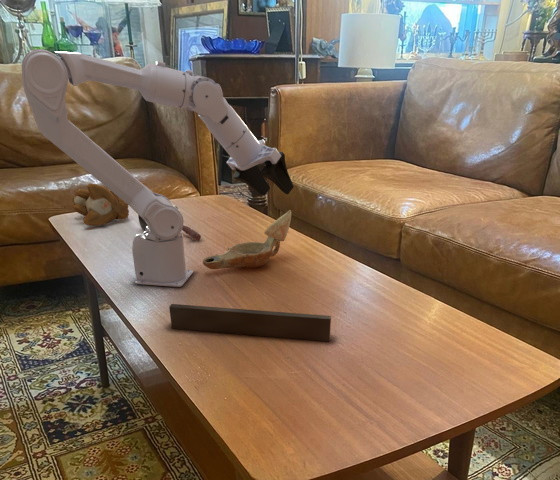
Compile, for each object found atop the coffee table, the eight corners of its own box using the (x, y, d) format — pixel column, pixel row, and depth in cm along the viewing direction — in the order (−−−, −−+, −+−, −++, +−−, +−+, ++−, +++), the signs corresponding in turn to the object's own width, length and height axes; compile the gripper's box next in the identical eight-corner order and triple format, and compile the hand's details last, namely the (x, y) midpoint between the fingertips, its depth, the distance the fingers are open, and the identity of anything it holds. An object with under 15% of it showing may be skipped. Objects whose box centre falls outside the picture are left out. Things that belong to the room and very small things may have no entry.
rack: (171, 328, 90) (168, 306, 88) (173, 325, 91) (171, 303, 89) (329, 341, 86) (330, 319, 84) (330, 338, 88) (331, 315, 85)
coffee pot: (136, 225, 138) (167, 225, 143) (168, 254, 126) (200, 252, 131) (138, 196, 134) (170, 196, 139) (171, 222, 122) (204, 222, 127)
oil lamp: (301, 261, 118) (302, 214, 112) (213, 282, 108) (210, 232, 102) (278, 250, 124) (279, 205, 119) (194, 269, 114) (189, 221, 108)
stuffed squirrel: (82, 224, 135) (65, 222, 145) (136, 228, 144) (116, 226, 154) (81, 182, 132) (64, 182, 142) (136, 188, 141) (116, 188, 151)
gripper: (269, 115, 96) (312, 173, 104) (225, 126, 107) (267, 178, 115) (247, 144, 94) (292, 201, 103) (205, 153, 105) (249, 203, 114)
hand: (278, 191), depth 109 cm, fingers open, 7 cm apart
